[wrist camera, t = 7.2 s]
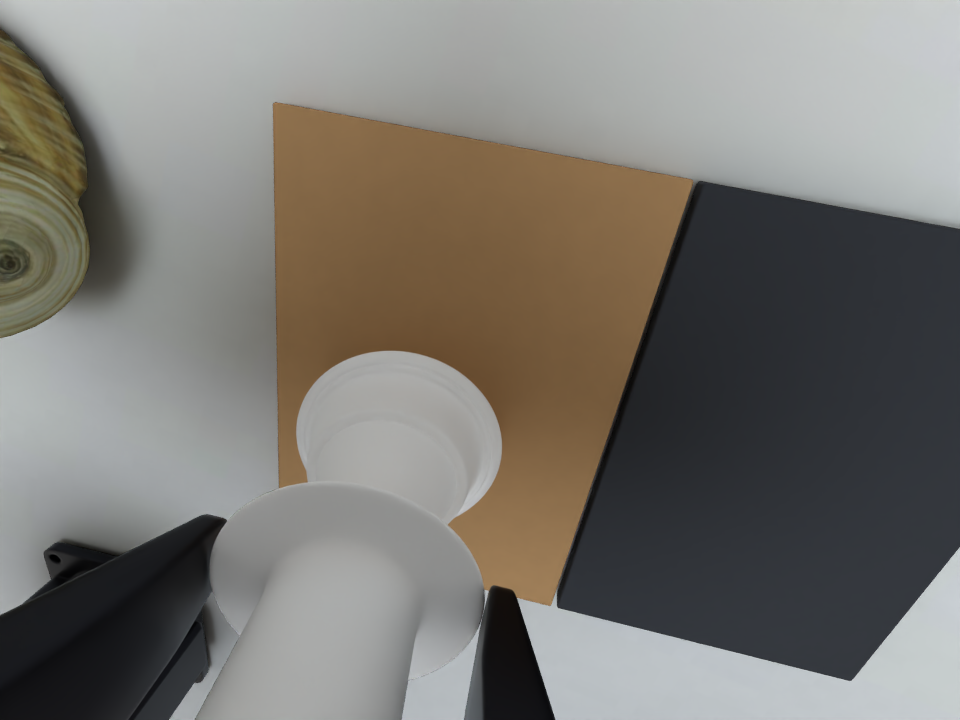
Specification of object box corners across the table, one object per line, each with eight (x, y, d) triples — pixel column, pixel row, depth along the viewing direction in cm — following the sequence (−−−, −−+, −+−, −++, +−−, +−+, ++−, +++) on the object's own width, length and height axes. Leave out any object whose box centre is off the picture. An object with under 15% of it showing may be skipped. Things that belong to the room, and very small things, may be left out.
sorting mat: (287, 526, 18) (279, 538, 17) (284, 103, 12) (271, 101, 11) (842, 664, 16) (851, 682, 16) (1152, 265, 10) (1185, 271, 10)
